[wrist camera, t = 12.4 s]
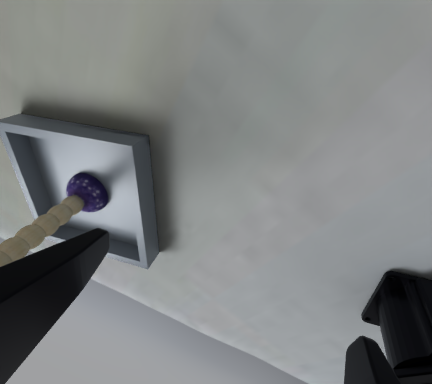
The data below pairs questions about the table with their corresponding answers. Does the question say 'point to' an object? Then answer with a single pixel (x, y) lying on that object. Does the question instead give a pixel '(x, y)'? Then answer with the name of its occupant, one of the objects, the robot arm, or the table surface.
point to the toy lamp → (56, 216)
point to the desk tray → (93, 165)
